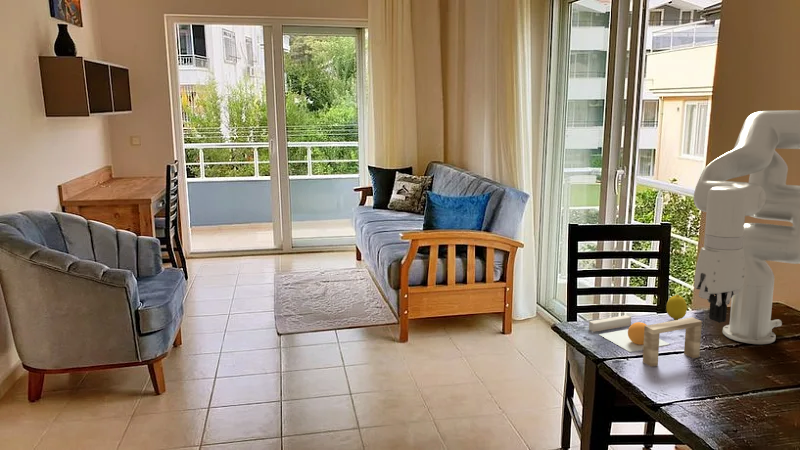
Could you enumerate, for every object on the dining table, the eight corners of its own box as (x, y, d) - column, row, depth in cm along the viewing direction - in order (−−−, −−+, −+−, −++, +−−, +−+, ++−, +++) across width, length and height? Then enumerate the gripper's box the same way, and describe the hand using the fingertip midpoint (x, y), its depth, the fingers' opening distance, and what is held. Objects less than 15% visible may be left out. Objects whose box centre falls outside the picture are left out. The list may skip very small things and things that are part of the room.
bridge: (642, 362, 149) (644, 325, 147) (690, 352, 153) (692, 317, 151) (651, 366, 146) (653, 329, 144) (699, 357, 150) (701, 321, 149)
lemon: (688, 324, 172) (690, 298, 171) (668, 323, 173) (669, 297, 172) (683, 317, 178) (685, 292, 176) (663, 316, 179) (665, 291, 177)
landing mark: (636, 328, 171) (636, 327, 171) (670, 344, 159) (670, 344, 158) (598, 335, 167) (598, 334, 167) (629, 352, 155) (629, 351, 155)
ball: (660, 335, 157) (647, 346, 161) (647, 316, 160) (635, 327, 164) (643, 339, 154) (631, 350, 159) (631, 320, 157) (619, 331, 162)
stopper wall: (626, 323, 175) (626, 315, 174) (630, 325, 173) (631, 317, 172) (588, 329, 171) (589, 321, 170) (593, 331, 169) (593, 323, 169)
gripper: (735, 235, 137) (729, 310, 140) (683, 242, 132) (678, 319, 136) (764, 242, 130) (756, 321, 133) (710, 249, 125) (704, 330, 129)
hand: (717, 320), depth 134 cm, fingers closed
